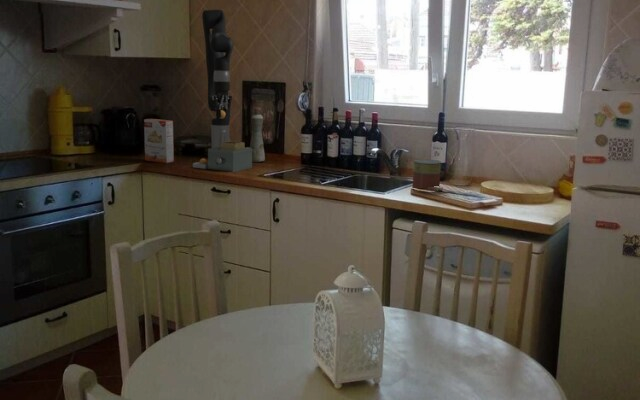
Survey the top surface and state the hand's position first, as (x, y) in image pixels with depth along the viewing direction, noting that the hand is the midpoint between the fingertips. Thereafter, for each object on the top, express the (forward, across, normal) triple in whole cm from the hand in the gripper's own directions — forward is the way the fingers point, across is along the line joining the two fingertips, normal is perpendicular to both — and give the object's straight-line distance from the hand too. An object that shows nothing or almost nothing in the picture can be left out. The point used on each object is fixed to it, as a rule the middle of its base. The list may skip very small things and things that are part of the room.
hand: (221, 117), depth 313 cm
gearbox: (+24, +1, +6) cm, 25 cm away
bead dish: (+24, +6, -6) cm, 26 cm away
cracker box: (+24, +3, -36) cm, 43 cm away
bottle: (+24, -27, +2) cm, 36 cm away
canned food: (+25, -7, +101) cm, 104 cm away
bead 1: (+24, +6, -6) cm, 25 cm away
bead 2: (+1, 0, 0) cm, 1 cm away
